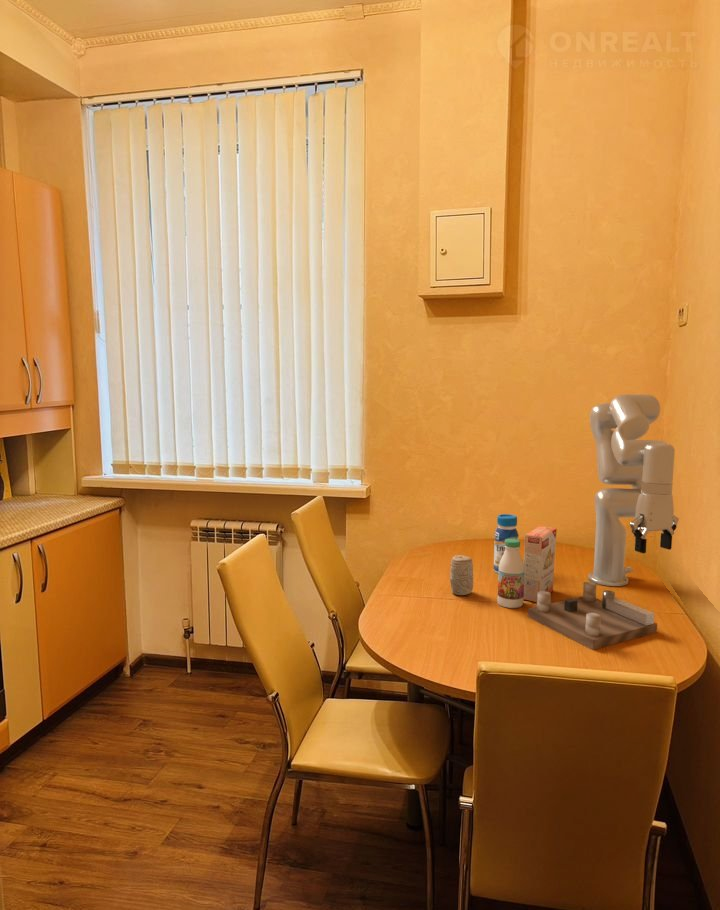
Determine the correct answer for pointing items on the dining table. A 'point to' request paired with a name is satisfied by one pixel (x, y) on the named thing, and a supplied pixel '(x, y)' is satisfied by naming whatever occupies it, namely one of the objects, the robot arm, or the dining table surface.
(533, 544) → the cracker box
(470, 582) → the carving
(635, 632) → the brown board with pegs
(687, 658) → the dining table surface
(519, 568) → the milk bottle
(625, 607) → the hinged leg
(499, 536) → the beverage bottle
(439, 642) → the dining table surface
